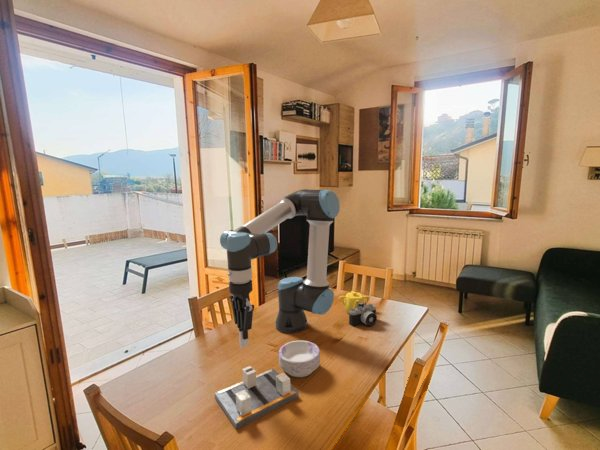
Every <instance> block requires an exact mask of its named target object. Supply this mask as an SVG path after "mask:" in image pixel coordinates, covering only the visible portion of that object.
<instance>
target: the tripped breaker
mask: <svg viewBox="0 0 600 450" xmlns="http://www.w3.org/2000/svg"><path fill="white" fill-rule="evenodd" d="M241 370H242V381H243V383H244V384H245V386H246V387H247V388H248V389H249V388H251V387H254V386H256V375H257V371H256V370H255V369H254V368H253V367H252V366H251V365H249V366H245V367H244V368H242V369H241Z"/></svg>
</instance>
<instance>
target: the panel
mask: <svg viewBox="0 0 600 450" xmlns="http://www.w3.org/2000/svg"><path fill="white" fill-rule="evenodd" d="M299 397H300V392H299V391H298V390H297V389H296V388H295V387H294V386H293V385H291V378H290V377H289V375H287V374H286V372H281V373H279V372H278V371H277V370H275V369H274V368H271V369H268V370H265V371H264V372H261V373H259V374H256V386H254V387H251V388H249V389H248V388H247V387H246V386H245V384H244V383H243V380H242V381H240V382H237V383H235V384H233V385H231V386H228V387H225V388H224V389H220V390H219V391H215V392H214V399H215V400H216V402H217V403H218V405H219V406H220V407H221V410H223V412H224V413H225V415H226V417H227V418H228V420H229V421H230V423H231V424H232V426H233V427H234V429H235V430H238V429H240V428H242V427H244V426H246V425H248V424H250V423H253V421H256V420H257V419H260V418H262V417H263V416H265V415H267V414H269V413H271V412H273V411H275V410H277V409H280V408H282V406H285V405H287V404H289V403H290V402H292V401H293V402H294V401H295V400H296V399H298V398H299Z"/></svg>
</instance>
